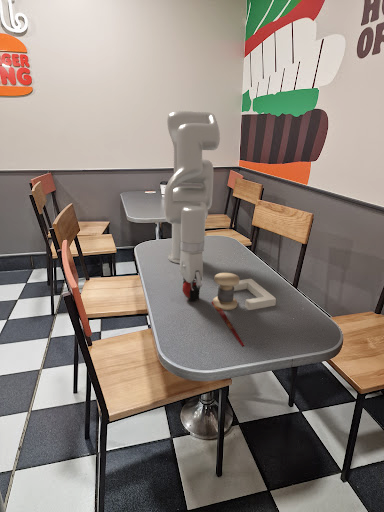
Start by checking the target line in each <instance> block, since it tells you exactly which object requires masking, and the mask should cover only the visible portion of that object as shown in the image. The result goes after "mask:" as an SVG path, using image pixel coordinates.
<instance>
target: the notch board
mask: <svg viewBox="0 0 384 512" xmlns="http://www.w3.org/2000/svg"><path fill="white" fill-rule="evenodd" d="M233 287H234V292H235V291H241V290H248V291H249V292H250V293H251V294H253V296H254V297H255V298H254V297H252V298H247V299H245V302H244V303H245V304H244V307H245V308H246V309H247V310H248V311H253V310H258V309H264V308H268V307H269V308H270V307H273V306H276V303H277V298H276V297H275V296H274V295H272V294H271V293H270V292H269V291H267V290H266V289H265V288H264V287H262V286H261V285H260V284H258V283H257V282H256V281H255V280H253V279H252V278H246V279H240V281H239V284H237V285H235V286H233Z"/></svg>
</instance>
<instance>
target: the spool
mask: <svg viewBox="0 0 384 512" xmlns="http://www.w3.org/2000/svg"><path fill="white" fill-rule="evenodd" d="M213 280H214V282H215V283H216V284H217V285H218V287H217V296H215V297H214V298H213V299H212V301H213V304H214V305H215V306H216V307H218V308H221V309H222V310H223V311H231V310H235V309H236V308H237V307H238V300H237V299H236V298H235V296H234V295H235V291H234V287H233V286H235V285H237V284H239V281H240V280H241V279H240V276H238V274H235V273H233V272H232V273H231V272H219V273H217V274H215V275H214V278H213ZM213 304H212V305H213Z"/></svg>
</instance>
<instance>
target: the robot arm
mask: <svg viewBox="0 0 384 512" xmlns="http://www.w3.org/2000/svg"><path fill="white" fill-rule="evenodd" d="M166 120H167V121H166V122H167V129H168V134H169V136H170V139H171V142H172V145H173V175H172V176H171V177H170V178H169V179H168V182H167V184H166V185H165V189H164V194H163V195H164V197H163V198H164V199H163V200H164V201H163V202H164V204H163V205H164V207H163V208H164V217H165V221H166V222H167V223H169V224H171V253H169V254H168V257H167V258H168V260H169V261H170V262H172V263H175V264H179V274H180V275H181V276H182V280H183V282H182V285H183V284H184V283H185V281H187V282H188V283H190V284H191V290H190V298H189V301H190V302H194V301H199V300H200V290H201V287H202V286H203V284H202V281H203V277H204V275H203V274H204V258H203V257H204V256H203V252H204V251H205V235H206V234H205V233H206V220H207V219H208V216H209V210H210V208H211V207H212V204H213V194H214V193H213V192H214V175H215V174H214V171H215V170H214V166H213V163H212V162H211V161H210V160H209V159H203V151H215V150H217V149H218V148H219V145H220V140H221V137H220V134H221V133H220V128H219V127H220V126H219V124H218V121H217V118H216V116H215V115H214V113H212V112H206V111H186V110H185V111H184V110H183V111H181V110H179V111H178V110H177V111H173V112H170V113H169V114H168V116H167V119H166ZM180 184H188V185H189V184H191V185H193V184H194V185H201V186H179V185H180ZM193 280H195V281H193ZM193 283H196V285H194V286H193Z"/></svg>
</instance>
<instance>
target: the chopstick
mask: <svg viewBox="0 0 384 512" xmlns="http://www.w3.org/2000/svg"><path fill="white" fill-rule="evenodd" d="M211 304H212V306H213V307H214V308H215V310H216V311H217V312H218V314H219V316H220V317H221V319H222V320H223V322H224V323H225V324H226V325H227V327H228V329H229V330H230V332H231V333H232V334H233V336H234V337H235V339H236V340H237V342H238V343H239V344H240V345H241V346H242V347H245V346H246V345H245V344H244V342H243V340H242V339H241V337H240V336H239V335H238V333H237V331H236V329H235V327H234V326H233V325H232V323H231V321H230V319H229V318H228V316H227V314H226V313H225V310H222V309H221V308H218V307H216V306H215V305H214V304H213V300H212V301H211Z"/></svg>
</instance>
